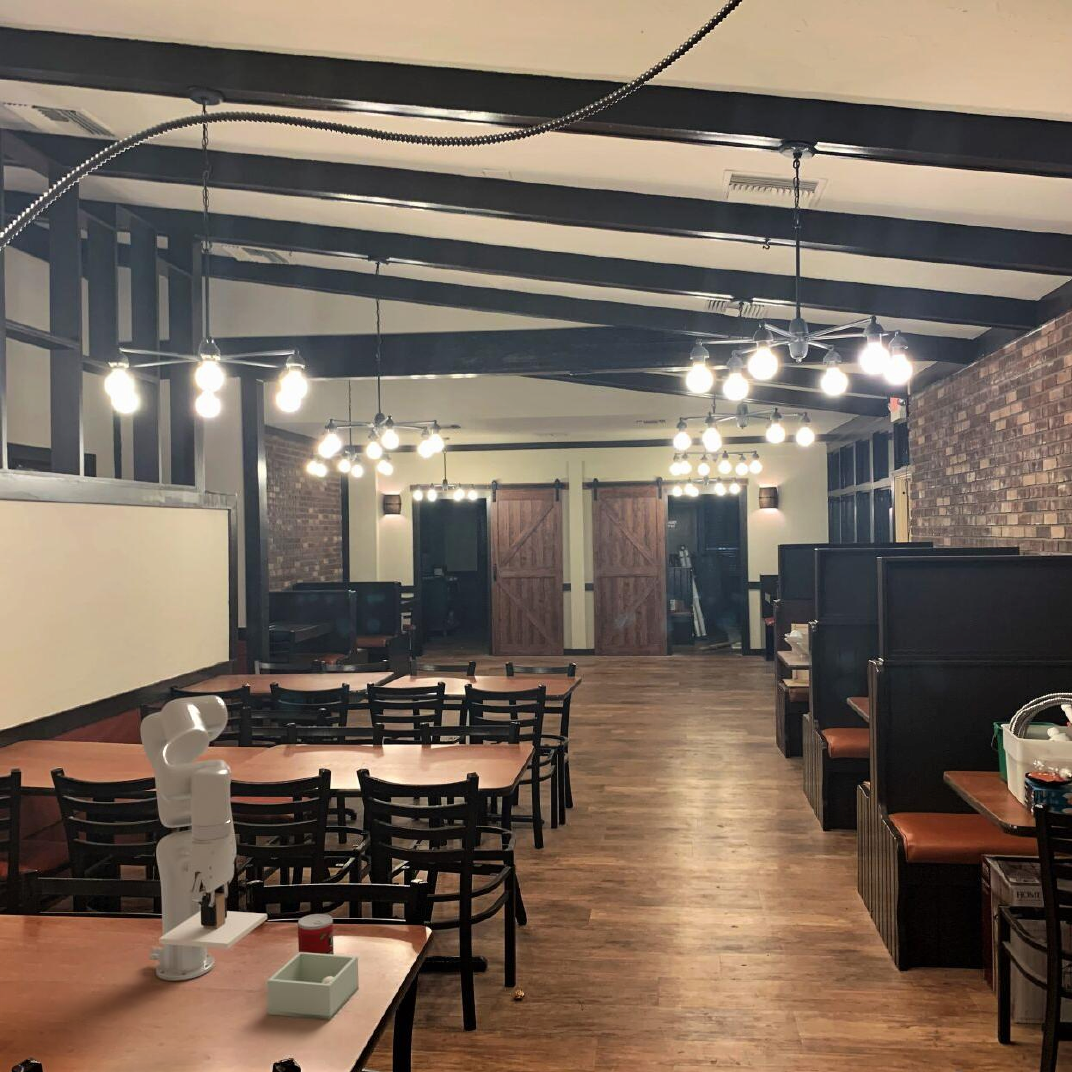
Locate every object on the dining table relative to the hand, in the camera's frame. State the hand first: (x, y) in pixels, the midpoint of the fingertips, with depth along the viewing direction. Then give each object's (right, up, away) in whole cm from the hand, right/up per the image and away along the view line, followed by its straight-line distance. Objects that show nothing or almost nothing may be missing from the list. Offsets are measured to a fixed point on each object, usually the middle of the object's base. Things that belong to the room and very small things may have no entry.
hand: (214, 920), depth 193 cm
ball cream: (+21, -19, +13) cm, 31 cm away
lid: (0, -2, 0) cm, 2 cm away
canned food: (+14, -22, +28) cm, 38 cm away
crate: (+18, -22, +11) cm, 30 cm away
